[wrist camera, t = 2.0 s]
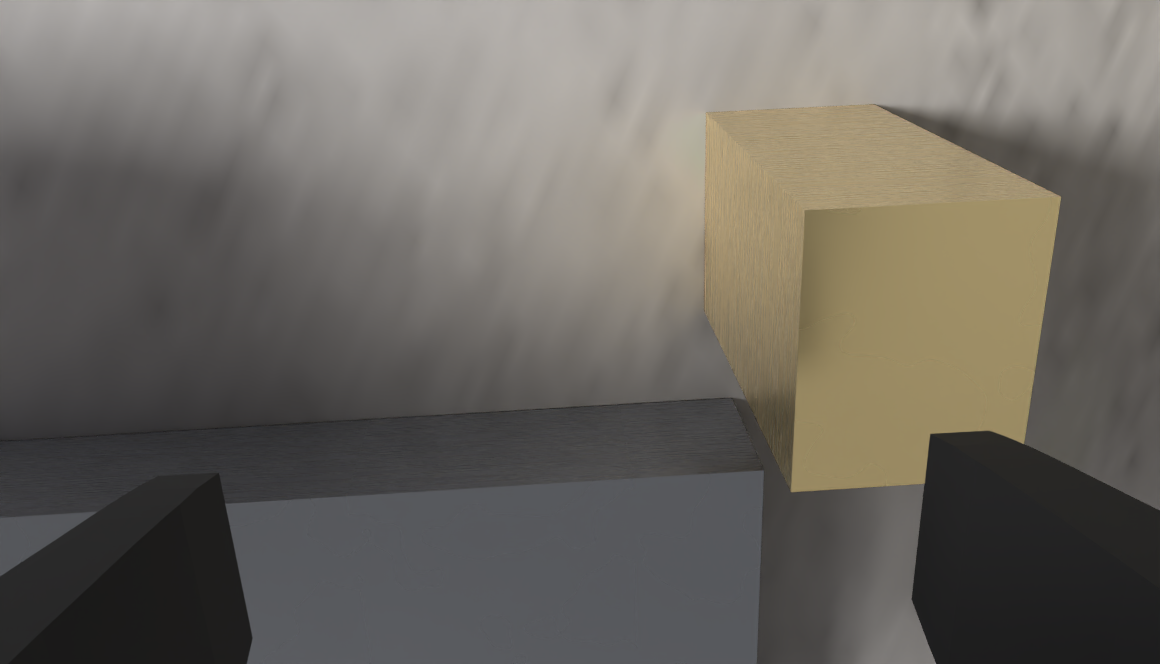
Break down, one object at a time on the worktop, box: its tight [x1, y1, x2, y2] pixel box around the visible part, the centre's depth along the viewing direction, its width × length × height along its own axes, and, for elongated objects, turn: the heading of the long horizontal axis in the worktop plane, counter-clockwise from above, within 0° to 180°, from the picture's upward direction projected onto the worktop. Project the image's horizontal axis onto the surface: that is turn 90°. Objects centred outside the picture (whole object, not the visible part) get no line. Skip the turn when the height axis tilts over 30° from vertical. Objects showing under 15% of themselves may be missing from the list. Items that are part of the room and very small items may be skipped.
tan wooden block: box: [704, 104, 1061, 492], centre depth 16 cm, size 3×4×7 cm
